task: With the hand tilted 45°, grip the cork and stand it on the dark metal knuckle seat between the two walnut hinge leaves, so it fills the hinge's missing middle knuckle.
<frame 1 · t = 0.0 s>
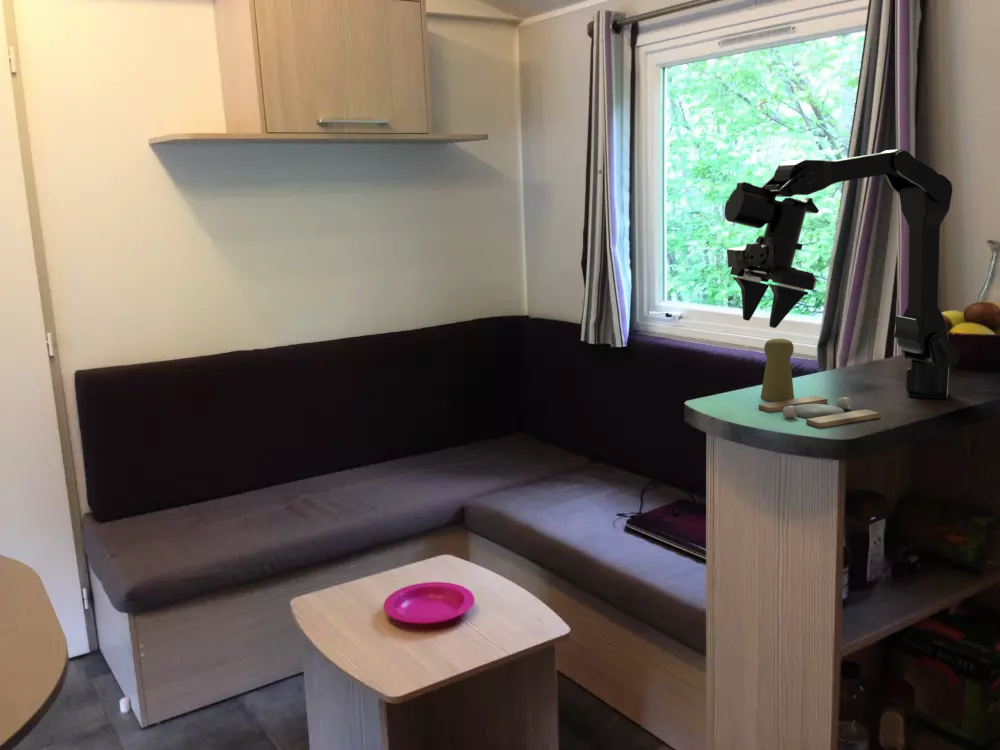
hand: (758, 323, 156), 15 cm above the worktop, tool pointing down, fingers open, 9 cm apart
cork: (777, 398, 168), on the worktop
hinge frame: (817, 413, 156), on the worktop
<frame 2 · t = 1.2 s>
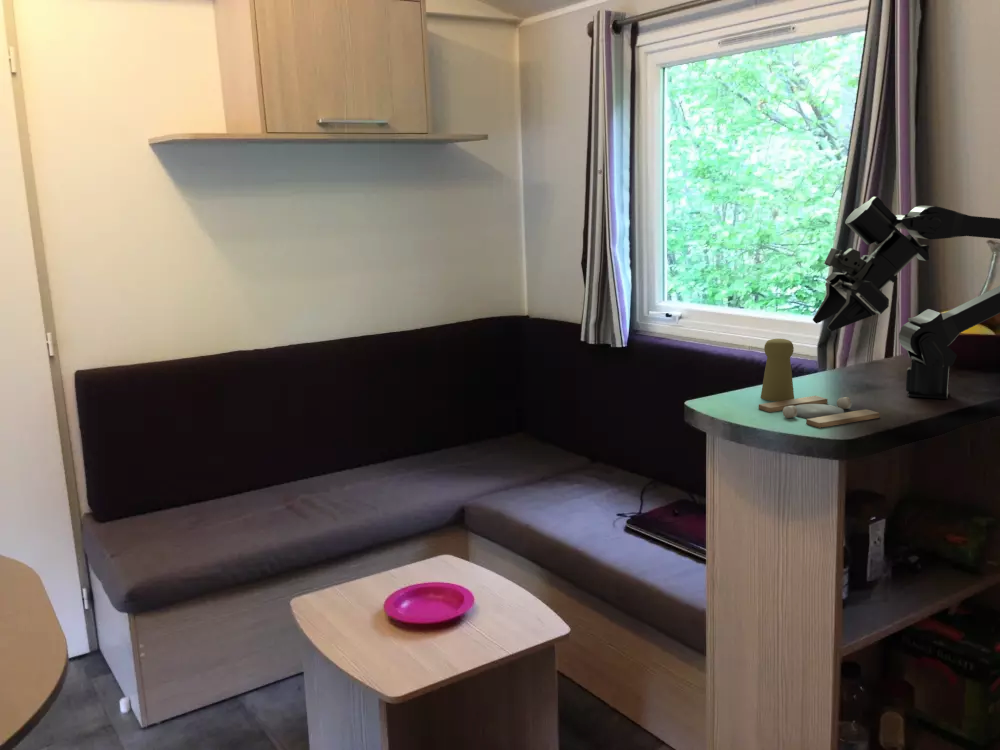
hand: (821, 325, 165), 13 cm above the worktop, tool tilted 45°, fingers open, 9 cm apart
nothing on the worktop moved.
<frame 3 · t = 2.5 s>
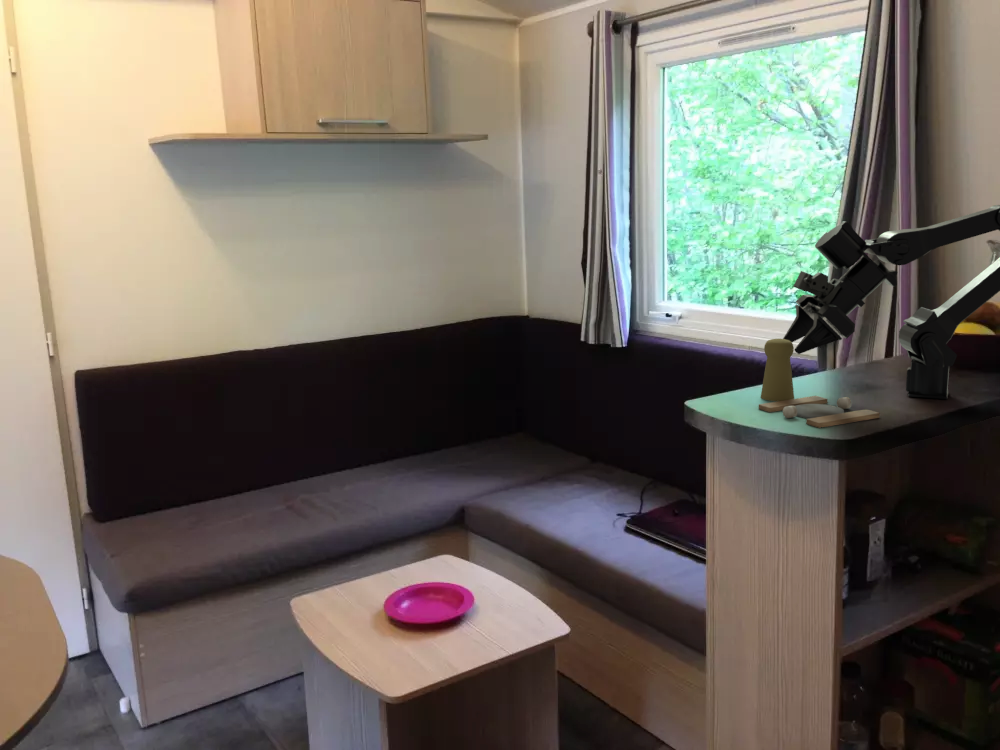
hand: (789, 347, 166), 9 cm above the worktop, tool tilted 45°, fingers open, 9 cm apart
nothing on the worktop moved.
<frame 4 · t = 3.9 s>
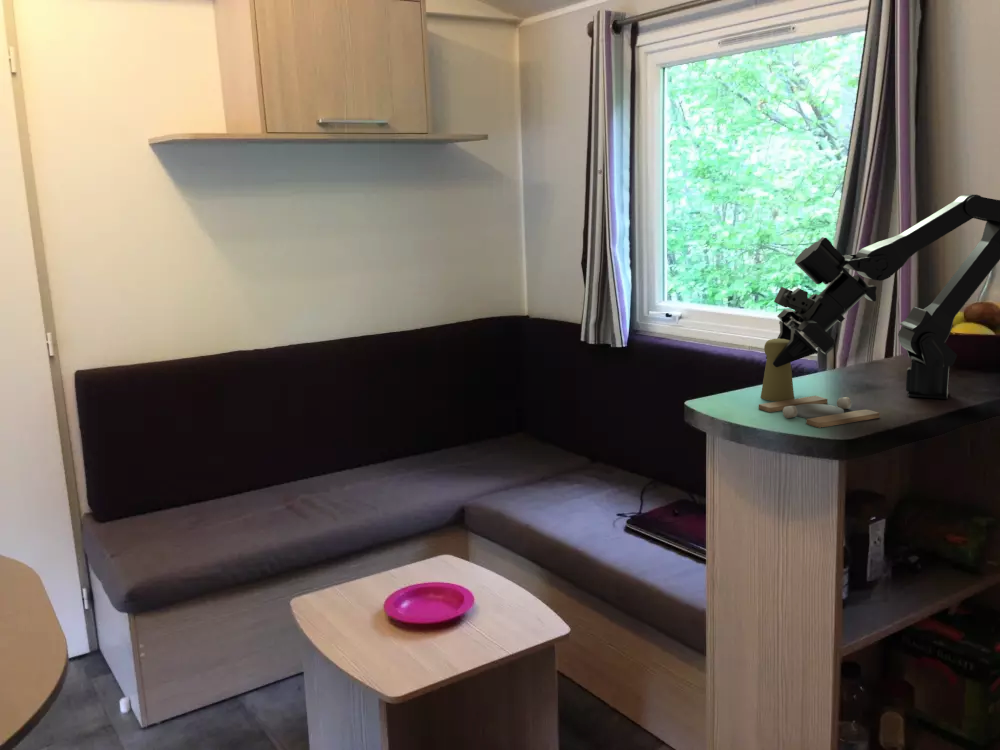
hand: (770, 362, 167), 7 cm above the worktop, tool tilted 45°, fingers closed on cork, 5 cm apart
cork: (777, 398, 168), on the worktop, touching gripper
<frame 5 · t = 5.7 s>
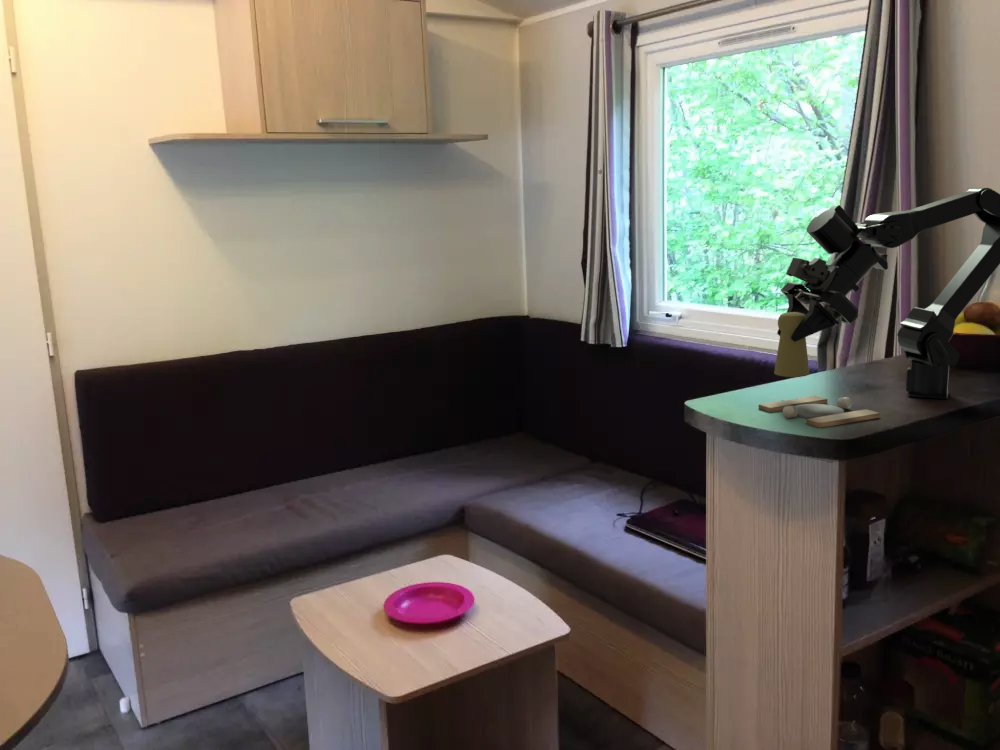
hand: (785, 337, 160), 12 cm above the worktop, tool tilted 45°, fingers closed on cork, 5 cm apart
cork: (791, 374, 162), point 5 cm above the worktop, touching gripper
when the fingers open (8 cm above the worktop, at t = 7.5 s): cork drops 1 cm, resting on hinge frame.
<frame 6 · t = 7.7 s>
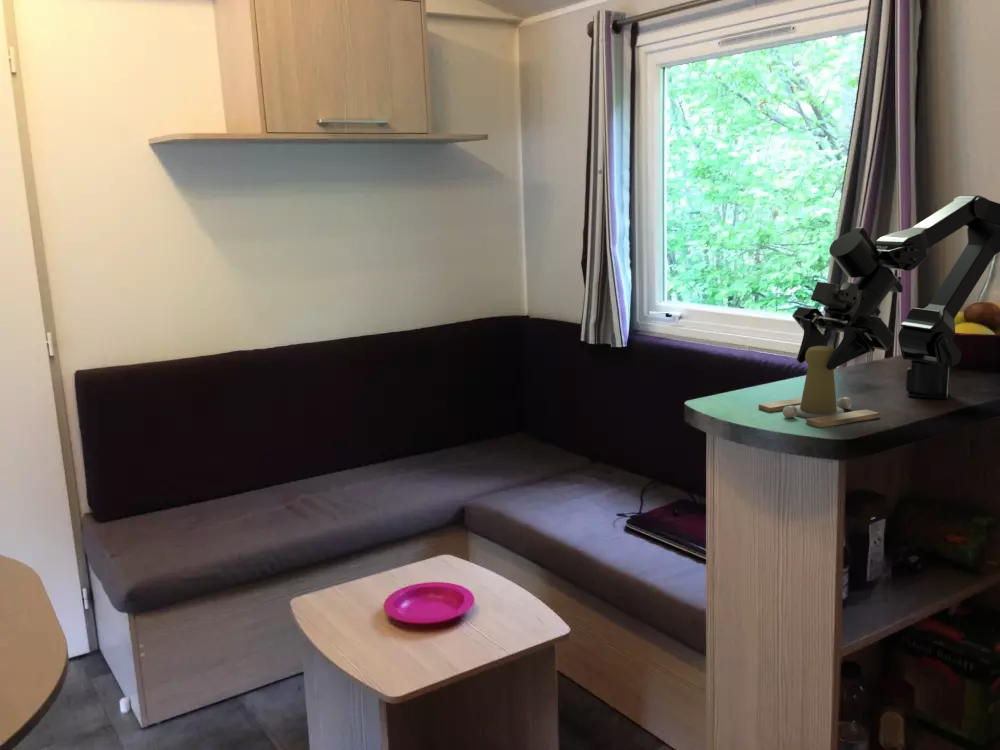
hand: (813, 365, 154), 9 cm above the worktop, tool tilted 45°, fingers open, 7 cm apart
cork: (818, 410, 156), resting on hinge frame
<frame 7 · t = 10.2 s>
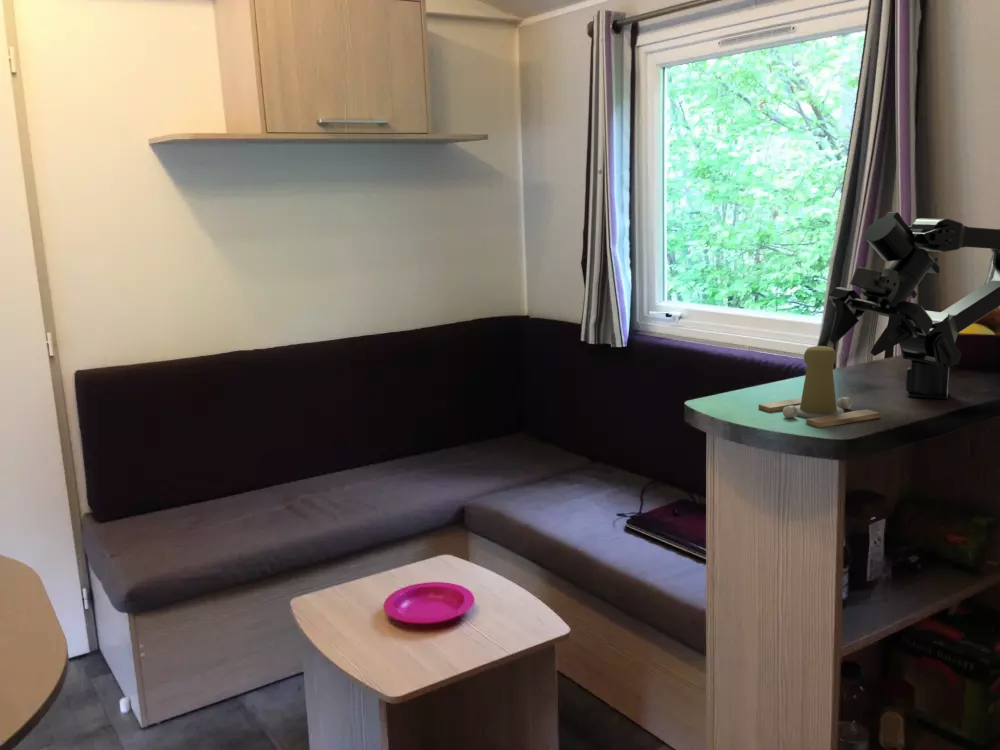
hand: (851, 348, 158), 10 cm above the worktop, tool tilted 40°, fingers open, 9 cm apart
nothing on the worktop moved.
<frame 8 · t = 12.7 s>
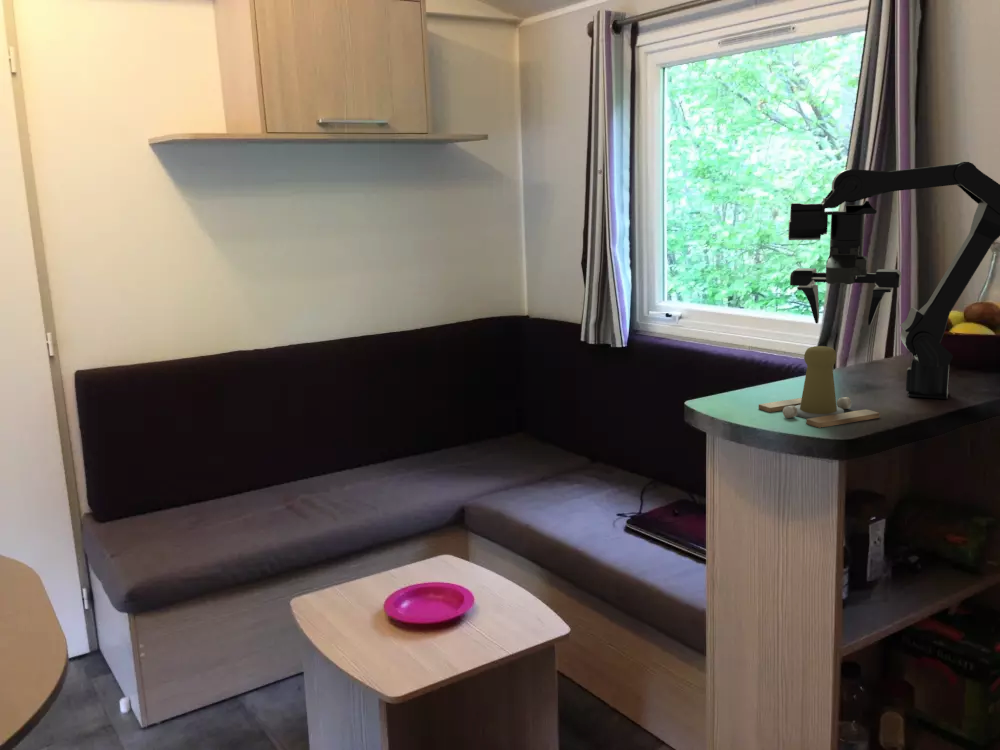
hand: (842, 324, 168), 13 cm above the worktop, tool pointing down, fingers open, 9 cm apart
nothing on the worktop moved.
at the end: cork 0.2 cm from the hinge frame (horizontally); cork tilted 0°; the gripper is holding nothing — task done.
